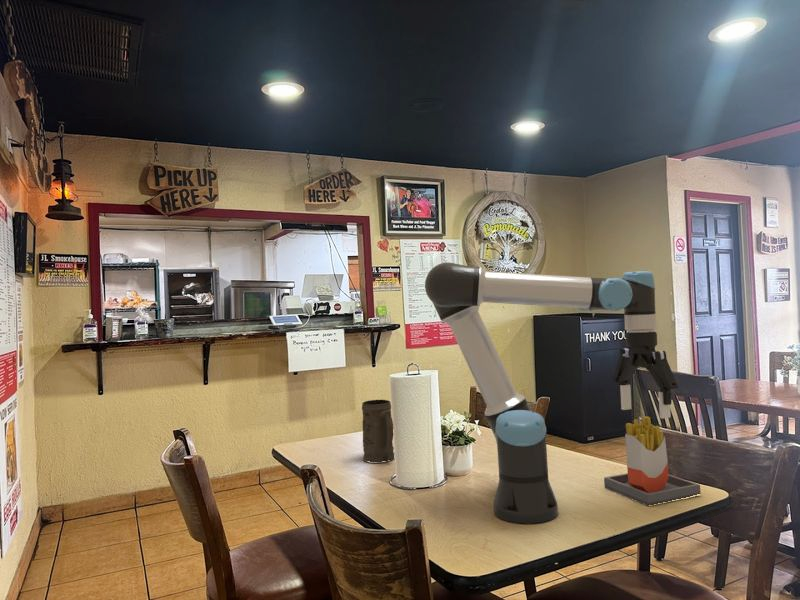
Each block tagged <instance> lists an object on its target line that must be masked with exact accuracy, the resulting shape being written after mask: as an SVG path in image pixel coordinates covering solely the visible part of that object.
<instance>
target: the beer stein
mask: <svg viewBox="0 0 800 600" xmlns="http://www.w3.org/2000/svg"><path fill="white" fill-rule="evenodd" d="M361 411H362V449H363V458H362V459H364V460H366V461H370V462H382V461H388V460H392V459H394V455H395V451H394V449H395V448H394V446H393V440H394V433H393V429H394V422H393V417H392V405H391V401H390V400H388V399H387V400H386V399H372V400H366V401H364V402H362V405H361ZM364 460H363V461H364ZM394 460H395V459H394ZM392 461H393V460H392Z"/></svg>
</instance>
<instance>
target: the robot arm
mask: <svg viewBox="0 0 800 600" xmlns="http://www.w3.org/2000/svg"><path fill="white" fill-rule="evenodd" d="M424 289H425V294H426V295H427V297H428V299H429V300H430V302H431V303H432V304H433V306H434V308H435V311H436V313H437V315H438V317H439V319H440V321H441V322H442V323H445V324H447V325H448V326H449V327H450V330H451V331H452V332H451V333H453V336H454V338H455V340H456V342H457V343H456V344H457V345H458V347H459V349H460V351H461V354H462V355H463V357H464V359H465V362H466V365H467V366H468V368H469V370H470V371H469V372H470V373H471V374H472V377H473V379H474V381H475V383H476V386H477V388H478V389H479V392H480V394H481V396H482V398H483V400H484V403H485V405H486V408H485V411H484V416H485V418H486V421H487V423H488V425H489V427H490V430H491V431H492V434H493V435H494V438H495V441H496V448H497V450H496V451H497V463H498V478H499V479H498V483H497V487H496V491H495V495H494V499H493V502H492V503H493V505H492V506H493V514H494V515H495V516H496V518H499V519H500V520H503V521H506V522H511V523H516V524H539V523H545V522H548V521H551V520H554V519H555V518H556V517H557V516H558V515H559V512H558V511H559V510H558V509H559V505H558V501H557V499H556V498H557V497H555V493H554V491H553V489H552V486H551V484H550V481H549V480H550V479H549V470H548V469H549V468H548V449H547V435H546V434H547V426H546V423H545V422H546V421H545V418H544V417H543V416H542V415H541V414H540V413H538V412H537V411H536V412H534V411H532V410H531V408H530V405H529V403H528V401H527V398H526V397H525V396H524V395H523V394H520V393H518V392H517V391H516V389H515V387H514V384H513V381H511V379H510V376H509V374H508V372H507V370H506V368H505V365H504V364H503V361H502V359H501V357H500V355H499V353H498V350H497V348H496V347H495V345H494V342H493V340H492V338H491V336H490V333H489V332H488V329H487V327H486V325H485V323H484V321H483V318H482V316H481V315H480V312H479V309H480V306H481V305H482V304H483V303H490V304H491V303H493V304H506V305H522V306H523V305H524V306H539V307H540V306H541V307H556V308H557V307H558V308H575V309H578V310H579V311H589V312H592V311H611V312H612V311H614V312H617V311H620V310H622V309H623V312H624V330H625V331H626V333H625V345H626V347H627V348H626V347H625V348H620V349H619V358H618V362H617V365H616V367H615V371H614V374H613V378H612V380H613V382H615V383H617V385H618V387H619V388H618V389H619V396H620V406H621V407H620V409H621V410H622V411H626V410H627V411H628V410H632V409H633V408H632V407H633V406H632V393H631V389H632V388H631V383H630V381H631V379H632V378H633V375H634V374H635V372H636V370H637V369H638V368H643V369H645V370H646V371H648V372H649V374H650V375H651V377H652V378H653V380H654V381H655V383H656V384H657V386H658V388H659V389H660V390H658V409H659V410H658V411H659V418H660V419H668V418H671V416H672V415H671V413H672V412H671V404H672V402H673V401H672V391H674V390H678V389H679V386H678V383H677V381H676V378H675V376H674V373H673V372H672V371H673V370H672V369H671V366H670V364H669V362H668V359H667V352H666V350H658V351H657V350H656V347H657V345H658V332H657V331H655V330H656V329H657V315H656V314H657V313H656V287H655V280H654V274H653V273H652V272H651V271H647V270H644V271H643V270H641V271H639V270H638V271H627V272H623V274H622V277H621V278H620V277H619V278H617V277H610V278H605V277H588V276H587V277H586V276H573V275H572V276H570V275H555V274H554V275H553V274H539V273H538V274H535V273H532V274H531V273H521V272H520V273H517V272H516V273H515V272H502V271H501V272H500V271H486V270H484V269H483V267H481V266H472V265H471V266H470V265H463V264H458V263H456V262H455V263H454V262H442V263H439V264H436V265H434V267H433V268H431V269H430V270H429V272H428V273H427V276H426V278H425V281H424Z"/></svg>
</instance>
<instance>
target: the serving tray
mask: <svg viewBox="0 0 800 600" xmlns="http://www.w3.org/2000/svg"><path fill="white" fill-rule="evenodd" d="M668 475H669V478H668V480H667V482H666V484H665V486H664V489H663V490H660V491H658V492H653V493H646V492H644V491H641V490H639V489H636V488H633V487H632V486H631V485H630V484H629V483H628V472H626V473H620V474H617V475H616V474H615V475H611V476H604V478H603V479H604V480H603V482H604V483H603V484H604V489H606V490H609V491H611V492H613V491H614V492H613V493H615V492H616V494H618V495H620V494H621V495H620V496H623V497H625V496H626V497H625V498H627V497H628V499H630V498H631V500H632V499H633V501H635V500H636V501H635V502H637V501H638V502H637V503H639V502H641V503H640V504H642V503H644V504H646V505H654V504H658V503H663V502H668V501H672V500H676V499H681V498H686V497H690V496H693V495H697V494H701V485H700V484H699V483H696V482H693V481H690V480H687V479H684V478H681V477H677V476H675V475H672V474H669V473H668ZM701 495H702V494H701ZM644 504H643V505H644ZM646 505H645V506H646Z"/></svg>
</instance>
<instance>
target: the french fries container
mask: <svg viewBox="0 0 800 600" xmlns="http://www.w3.org/2000/svg"><path fill="white" fill-rule="evenodd" d="M625 429H626V431H625V432H626V433H625V434H624V436H625V437H624V438H625V451H626V452H625V453H626V467H627V473H628V483H629V484H630V485H631V486H632V487H633V488H636V489H639V490H641V491H644V492H646V493H653V492H658V491H660V490H663V489H664V486H665V484H666V482H667V480H668V478H669V475H670V474H669V462H668V452H667V444H666V436H665V435H664V432H663V431H662V430H660V425H654V424H652V422H651V417H650V416H644V417H642V418H640V423H639V419H633V423H630V422H626V423H625ZM668 474H669V475H668Z"/></svg>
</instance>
